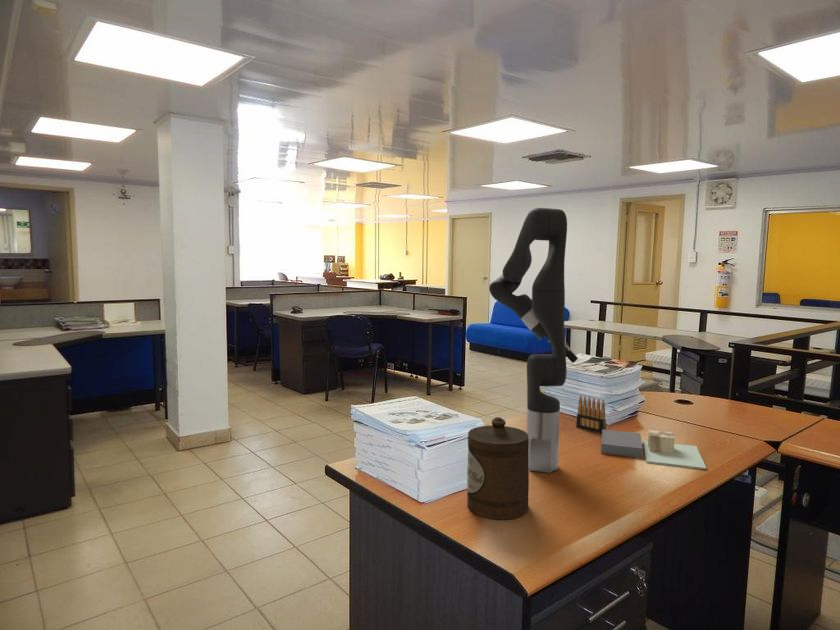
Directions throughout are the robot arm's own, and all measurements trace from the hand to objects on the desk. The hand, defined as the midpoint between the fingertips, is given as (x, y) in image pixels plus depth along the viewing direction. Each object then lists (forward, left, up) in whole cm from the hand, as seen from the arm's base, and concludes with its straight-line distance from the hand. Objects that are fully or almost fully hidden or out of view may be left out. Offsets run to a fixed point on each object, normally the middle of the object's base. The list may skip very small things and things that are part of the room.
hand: (575, 360), depth 174 cm
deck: (+2, -15, -28) cm, 32 cm away
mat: (0, -30, -28) cm, 41 cm away
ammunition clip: (+18, -5, -28) cm, 34 cm away
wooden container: (-54, +14, -28) cm, 63 cm away
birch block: (+3, -23, -25) cm, 34 cm away
